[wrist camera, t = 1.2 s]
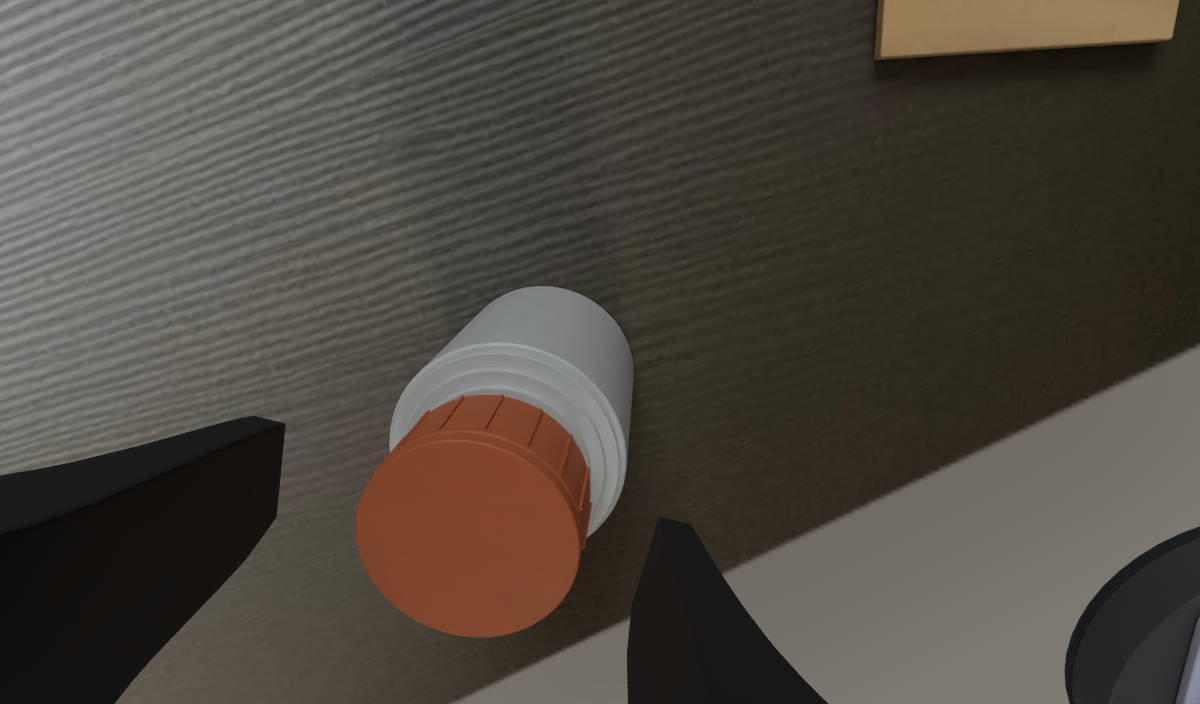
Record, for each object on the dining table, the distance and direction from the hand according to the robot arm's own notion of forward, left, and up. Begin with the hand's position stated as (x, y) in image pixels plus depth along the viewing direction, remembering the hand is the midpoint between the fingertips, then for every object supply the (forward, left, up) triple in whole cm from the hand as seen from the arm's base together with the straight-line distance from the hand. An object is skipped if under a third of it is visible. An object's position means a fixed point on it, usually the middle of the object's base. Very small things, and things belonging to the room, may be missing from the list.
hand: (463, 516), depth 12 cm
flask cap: (-1, 0, -1) cm, 1 cm away
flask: (-1, 0, -11) cm, 11 cm away
